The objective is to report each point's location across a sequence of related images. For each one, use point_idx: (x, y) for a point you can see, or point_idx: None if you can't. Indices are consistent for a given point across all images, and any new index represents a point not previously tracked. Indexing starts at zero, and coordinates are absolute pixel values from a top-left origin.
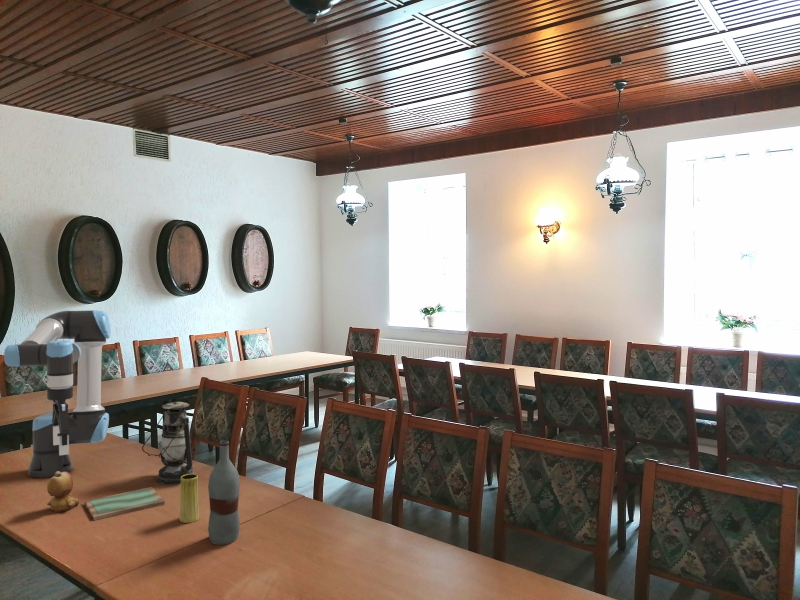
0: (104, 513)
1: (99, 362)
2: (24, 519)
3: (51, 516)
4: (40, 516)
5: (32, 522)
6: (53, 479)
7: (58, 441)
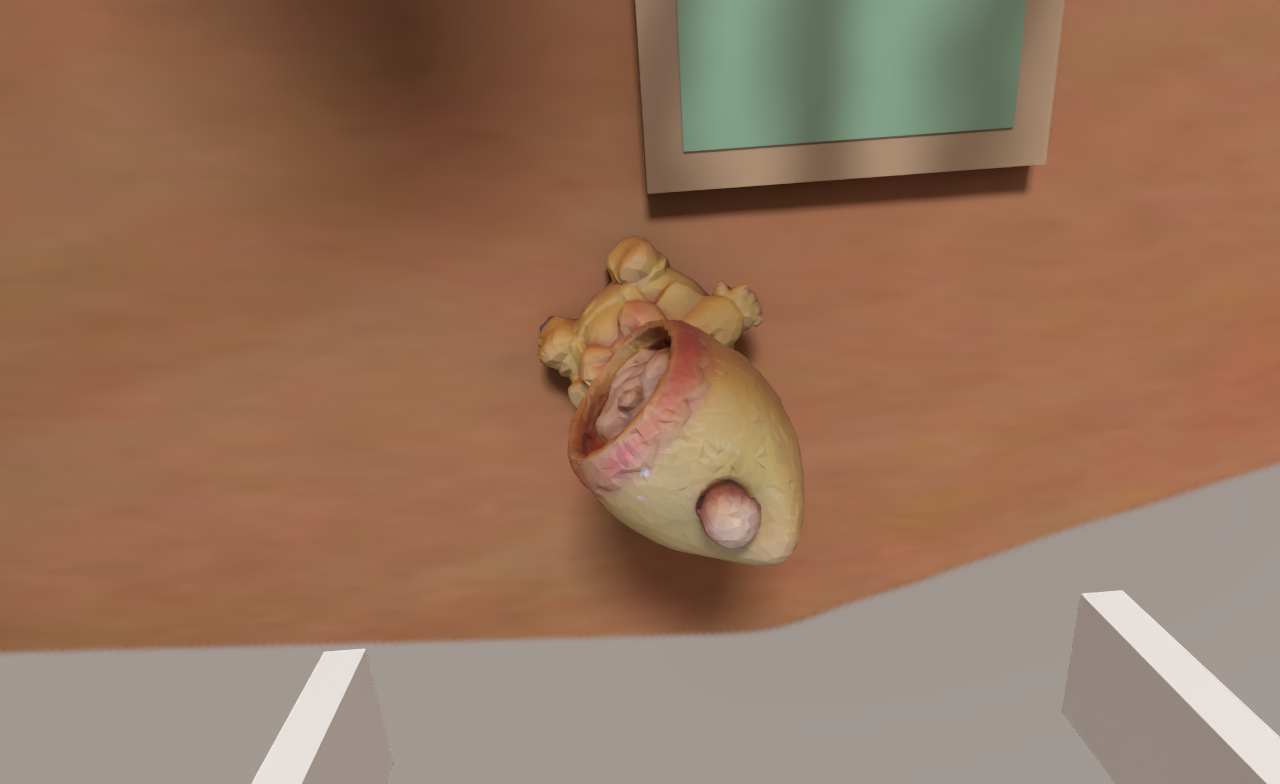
0: (1034, 78)
1: None
2: None
3: None
4: None
5: None
6: (796, 540)
7: (355, 749)
